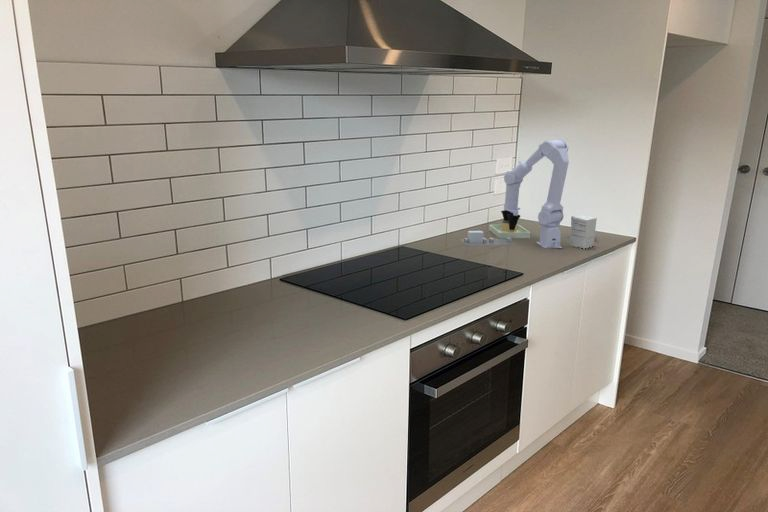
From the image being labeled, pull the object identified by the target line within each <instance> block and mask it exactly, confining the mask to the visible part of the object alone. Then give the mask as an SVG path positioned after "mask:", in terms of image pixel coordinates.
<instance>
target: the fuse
mask: <svg viewBox="0 0 768 512" xmlns="http://www.w3.org/2000/svg"><path fill="white" fill-rule="evenodd" d="M484 232H485V231H483V230H468V231H467V238H468V239H469V243H483V238H484Z"/></svg>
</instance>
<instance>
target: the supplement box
mask: <svg viewBox="0 0 768 512" xmlns="http://www.w3.org/2000/svg"><path fill="white" fill-rule="evenodd" d="M571 217H572V216H571ZM597 221H598V219H597V217H594V216H588V215H583V214H580V215H577V216H574V217H572V227H571V226H570V227H571V230H570V239H569V246H570V245H572V246H571V247H573V246H576V247H575V248H577V247H580V248H579V249H581V248H583V249H582V250H586V249H589V247H590V248H593V247H594V246H595V237H596V228H597V227H596V226H597ZM592 246H593V247H592ZM585 248H586V249H585Z"/></svg>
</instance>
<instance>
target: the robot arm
mask: <svg viewBox="0 0 768 512" xmlns="http://www.w3.org/2000/svg"><path fill="white" fill-rule="evenodd" d="M569 148H570V147H569V146H568V144H567V142H566V140H564V139H554V140H549V139H547V140H544V141H543V142H542V143H541V144H539V145H538V148H537V149H536V150H535V151H534V152H532V154H531V156H529V157H528V159H526V160H520V161H519V162H518V164H517V165H516V166H515V167H513V168H512V170H511V171H508V170H507V171H506V173H505V174H504V176H503V181H504V183H505V184H506V185H505V186H506V187H505V198H504V199H505V200H504V205H503V210H501V211H500V213H501V214H502V217H503V220H509V229H510V230H514V229H515V227H516V224H517V225H518V223H517V222H518V221H519V219H520V218H521V215H520V214H519V211H520V210H521V207H519V196H520V195H519V194H520V188H521V184H522V182H523V181H524V178H525V177H526V176H527V175H528V174H529V173H531V171H532V170H533V166H534V165H535V164H537V163H538V162H539V161H541V160H542V159H544V158H547V160H550V162H551V163H552V164H553V168H552V171H551V178H550V183H549V188H548V192H547V193H548V194H547V197H546V201H545V202H544V204H543V205H542V206H541V210H540V211H539V213H538V215H537V219H538V222H539V224H540V232H539V233H540V235H539V241H536V242H535V243H536V244H537V245H539V246H541V247H542V248H545V249H552V248H553V249H562V248H563V246H561V240H562V232H561V230H560V228H559V227H560V226H559V225H561V224H560V223H561V222H563V219H564V206H563V205H562V204H561V200H562V195H563V192H564V187H565V181H566V177H567V172H568V167H569V163H570V161H569V155H568V151H569Z"/></svg>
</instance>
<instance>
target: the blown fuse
mask: <svg viewBox="0 0 768 512" xmlns="http://www.w3.org/2000/svg"><path fill="white" fill-rule="evenodd" d="M501 225H502V231H507V232H517V225H518V221H517V224H516V227H515V229H514V230H510V229H509V220H504V219H503V220H502V222H501Z"/></svg>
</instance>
